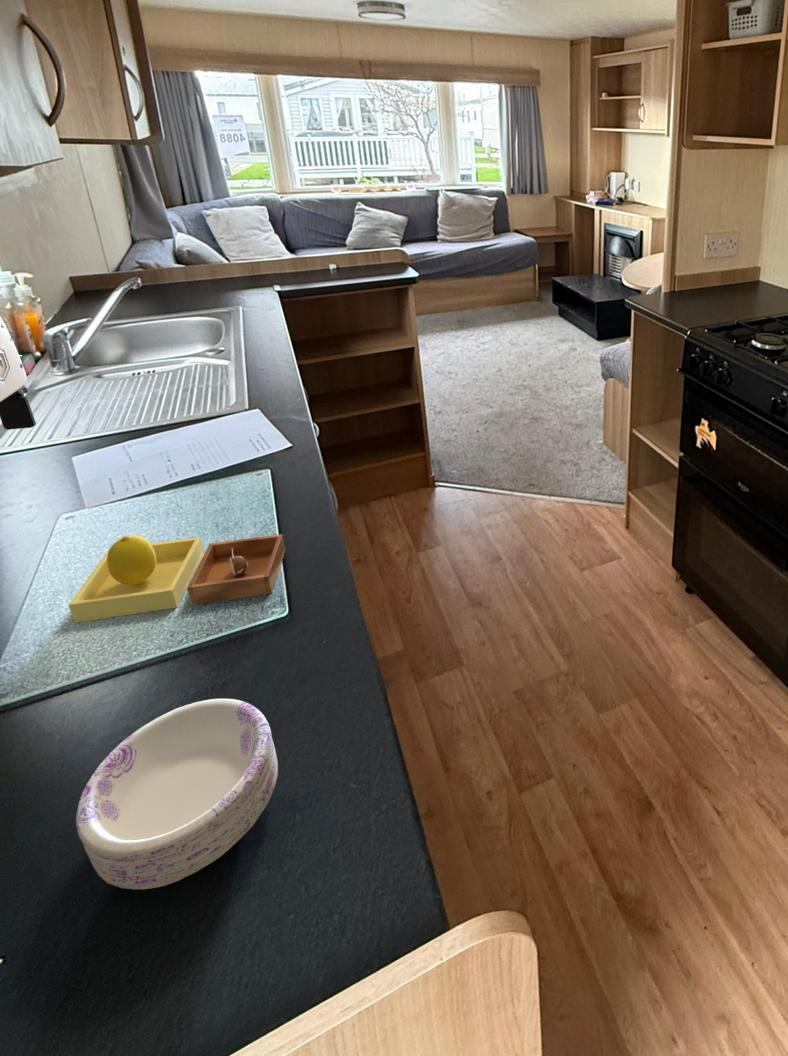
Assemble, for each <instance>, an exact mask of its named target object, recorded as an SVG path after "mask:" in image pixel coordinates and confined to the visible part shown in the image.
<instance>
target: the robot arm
mask: <svg viewBox="0 0 788 1056" xmlns="http://www.w3.org/2000/svg"><path fill="white" fill-rule="evenodd" d="M26 372H27V371H26V369H25V367H24V357H23V356H22V355H21V354H19V351H18V349H17V347H16V345H15V343H14V340H13V338H12V336H11V334H10V331H9V329H8V328H7V326H6V323H5V322H4V321H3V319H2V317H1V316H0V421H1V423H2V427H3V429H4V430H8V431H9V430H19V429H20V430H21V429H31V428H34V427H35V426H36V424H37V422H36V419H35V416H34V414H33V411H32V408H31V405H30V402H29V399H28V397H27V396H28V394H29V391H28V390H29V389H28V388H27V387H26V386H25V384H26V383H27V380H28V376H27V373H26Z"/></svg>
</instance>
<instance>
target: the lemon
mask: <svg viewBox="0 0 788 1056" xmlns="http://www.w3.org/2000/svg"><path fill="white" fill-rule="evenodd" d="M151 544H152V543H150V542H149V540H148V539H147V538H145V537H143V536H140V535H124V536H122V537H121V538H118V539H117V540H116V541H115V542H114V543H113V544H112V545H111V547H109V549H108V550H109V552H108V551H107V552H108V556H107V566H108V569H109V572H110V574H111V576H112V577H113V578H114V579H115V580H116V581H118V582H119V583H122V584H126V585H132V584H137V585H138V584H141V583H142V582H143V581H144V580H146V579H147V578H148V577H149V576H150V575H151V574H152V573H153V571H154V569H155V566H156V554H155V551H154V548H153V547H152V545H151Z"/></svg>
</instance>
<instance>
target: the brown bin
mask: <svg viewBox="0 0 788 1056" xmlns="http://www.w3.org/2000/svg"><path fill="white" fill-rule="evenodd" d="M232 549H233V556H242V557H243V558H245V559H246V561H247V563H248V565H247V569H246V570H245V571H244V573H242V574H241V575H239V576H234V574H233V571H232V568H231V564H230V558H231V557H233V556H232ZM285 549H286V544H285V539H284V535H283V533H279V534H273V535H265V536H257V537H251V538H242V539H236V540H235V539H234V540H227V541H219V542H211V543H209V544H208V546H207V548H206V550H205V551H204V555H203V557H202V559H201V561H200V563H199V565H198V567H197V569H196V571H195V573H194V575H193V577H192V579H191V581H190V583H189V585H188V587H187V589H186V590H187V593H188V596H189V599H190V604H191V606H198V605H205V604H210V603H218V602H225V601H231V600H238V599H244V598H251V597H252V598H253V597H257V596H258V597H259V596H266V595H271V594H273V592H274V589H275V585H276V582H277V578H278V576H279V573H280V571H281V567H282V564H283V560H284V557H285V554H286V551H285ZM286 550H287V549H286ZM284 553H285V554H284ZM282 559H283V560H282ZM280 566H281V567H280Z"/></svg>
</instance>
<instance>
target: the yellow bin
mask: <svg viewBox="0 0 788 1056" xmlns="http://www.w3.org/2000/svg"><path fill="white" fill-rule="evenodd" d="M150 544H151V545H152V547H153V548H154V551H155V554H156V566H155V569H154V571H153V573H152V574H151V575H150V576H149V577H148V578H147V579H146V580H144V581H143V582H142V583H141V584H138V585H137V584H132V585H126V584H122V583H119V582H118V581H116V580H115V579H114V578H113V577H112V576H111V574H110V572H109V569H108V566H107V556H108V552H109V549H108V550H107V551H106V553H105V555H104V556H103V557H102V559H100V561H99V562H98V564H97V566H96V567H95V568H94V569H93V571H92V572H91V573H90V574H89V576H88V577H87V579H86V581H84V584H82V586H81V587H80V589H79V590H78V592H77V593H76V594H75V595H74V597H73V598H72V600H70V602H69V604H68V608H69V609H70V614H71V616H72V619H73V621H74V623H75V624H76V623H83V622H89V621H96V620H103V619H104V620H105V619H110V618H118V617H124V616H130V615H137V614H145V613H150V612H158V611H163V610H170V609H177V608H178V607H179V605H180V603H181V600H182V599H183V597H184V596H185V593H186V591H187V590H188V589H187V587H188V586H189V584H190V582H191V580H192V578H193V576H194V574H195V572H196V570H197V568H198V566H199V564H200V562H201V560H202V558H203V556H204V554H205V551H204V547H203V546H204V545H203V543H202V539H201V537H194V538H186V539H179V540H171V541H163V542H162V541H161V542H153V543H150Z"/></svg>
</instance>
